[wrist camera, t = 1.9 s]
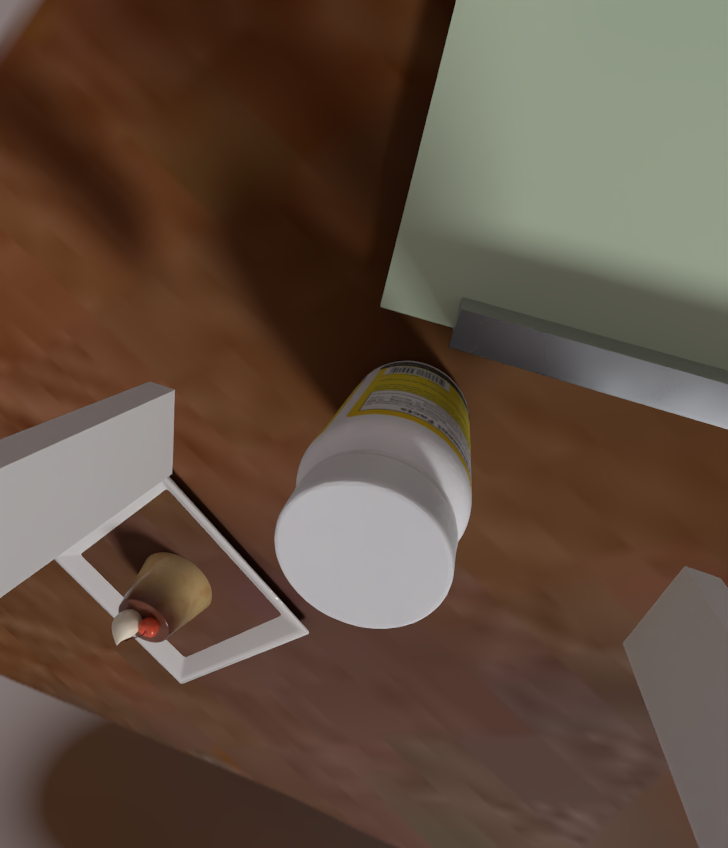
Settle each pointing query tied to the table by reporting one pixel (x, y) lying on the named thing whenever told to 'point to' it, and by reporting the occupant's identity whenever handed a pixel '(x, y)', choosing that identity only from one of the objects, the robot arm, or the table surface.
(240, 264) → the table surface
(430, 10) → the table surface
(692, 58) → the board
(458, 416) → the supplement bottle
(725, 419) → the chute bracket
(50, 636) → the table surface
